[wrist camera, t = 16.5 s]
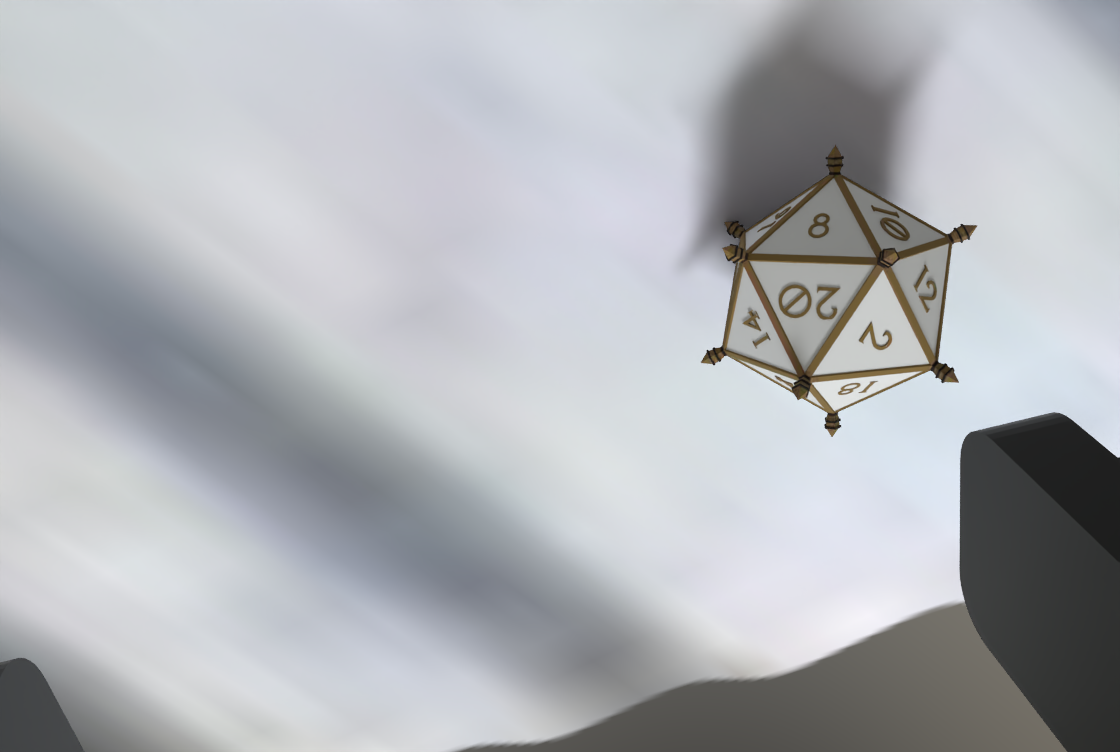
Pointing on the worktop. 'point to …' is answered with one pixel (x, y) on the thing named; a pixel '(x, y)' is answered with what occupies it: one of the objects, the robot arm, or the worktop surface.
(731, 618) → the worktop surface
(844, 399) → the game die
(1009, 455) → the robot arm
